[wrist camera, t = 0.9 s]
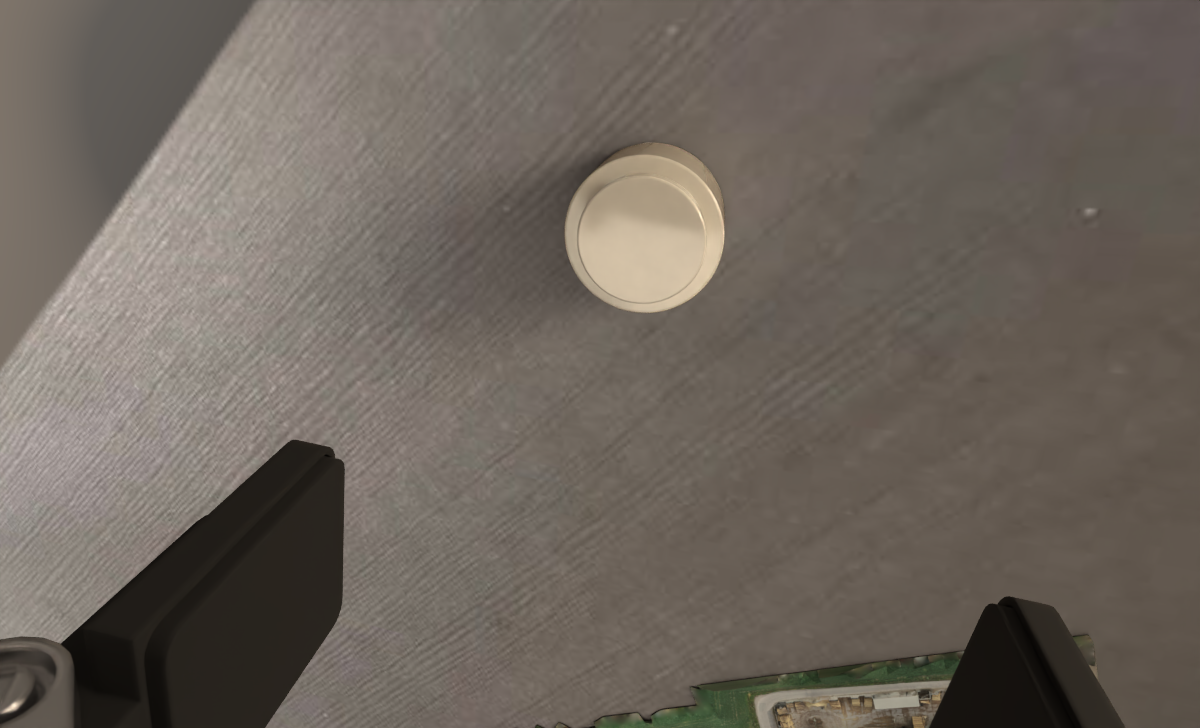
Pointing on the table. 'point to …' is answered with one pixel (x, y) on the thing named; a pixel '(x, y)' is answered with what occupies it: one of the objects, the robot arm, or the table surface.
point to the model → (822, 697)
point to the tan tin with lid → (646, 228)
